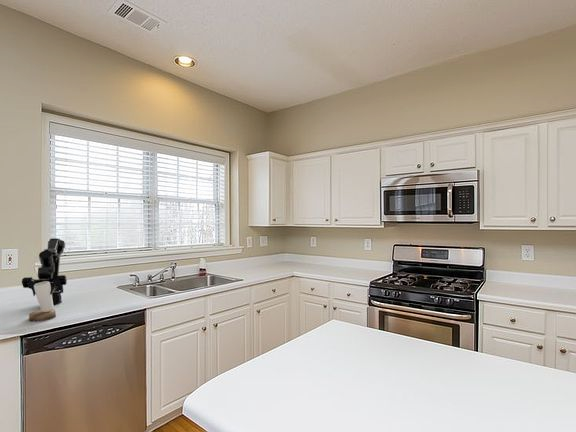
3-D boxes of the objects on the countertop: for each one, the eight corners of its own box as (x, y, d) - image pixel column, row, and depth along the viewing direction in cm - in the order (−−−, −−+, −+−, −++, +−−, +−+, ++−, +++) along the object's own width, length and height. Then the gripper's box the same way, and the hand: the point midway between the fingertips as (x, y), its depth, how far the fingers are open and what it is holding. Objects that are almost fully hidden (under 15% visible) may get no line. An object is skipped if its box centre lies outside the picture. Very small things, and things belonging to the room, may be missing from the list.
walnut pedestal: (23, 321, 163) (23, 315, 163) (37, 315, 173) (37, 309, 174) (47, 321, 164) (47, 315, 164) (60, 314, 175) (60, 309, 175)
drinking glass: (50, 307, 174) (44, 280, 172) (58, 308, 172) (52, 281, 170) (36, 313, 168) (30, 285, 166) (45, 313, 166) (38, 285, 164)
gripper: (22, 262, 168) (16, 287, 158) (66, 260, 177) (62, 283, 167) (26, 275, 175) (20, 300, 165) (68, 272, 183) (64, 296, 173)
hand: (42, 294), depth 167 cm, fingers closed on drinking glass, 7 cm apart
